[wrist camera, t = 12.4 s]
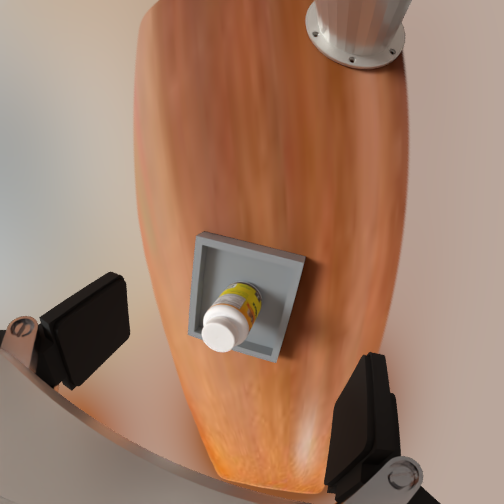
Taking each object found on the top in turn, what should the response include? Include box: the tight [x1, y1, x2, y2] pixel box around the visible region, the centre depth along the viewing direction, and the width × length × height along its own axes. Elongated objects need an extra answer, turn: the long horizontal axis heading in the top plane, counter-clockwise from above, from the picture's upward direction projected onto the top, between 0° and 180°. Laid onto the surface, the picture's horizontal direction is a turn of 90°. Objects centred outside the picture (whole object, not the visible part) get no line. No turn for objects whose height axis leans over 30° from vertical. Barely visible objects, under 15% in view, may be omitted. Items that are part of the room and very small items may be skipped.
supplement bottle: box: [202, 281, 262, 352], centre depth 35 cm, size 6×6×10 cm
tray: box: [188, 231, 306, 363], centre depth 39 cm, size 16×14×2 cm
